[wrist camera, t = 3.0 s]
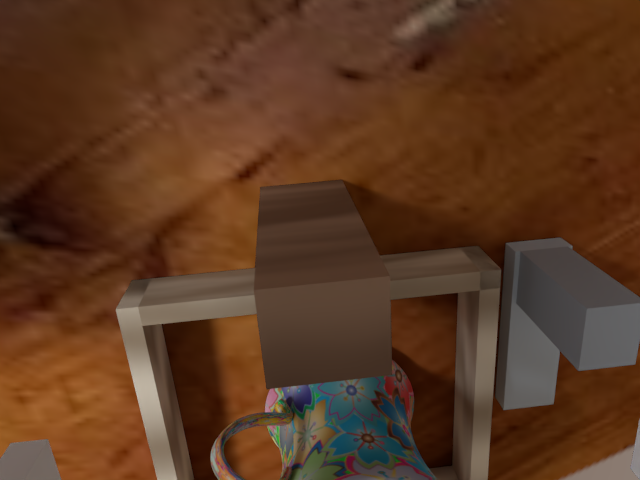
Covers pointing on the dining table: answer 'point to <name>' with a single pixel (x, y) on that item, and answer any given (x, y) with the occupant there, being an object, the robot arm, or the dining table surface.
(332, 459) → the mug
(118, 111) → the dining table surface
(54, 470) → the robot arm
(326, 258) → the open square frame
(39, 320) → the dining table surface
